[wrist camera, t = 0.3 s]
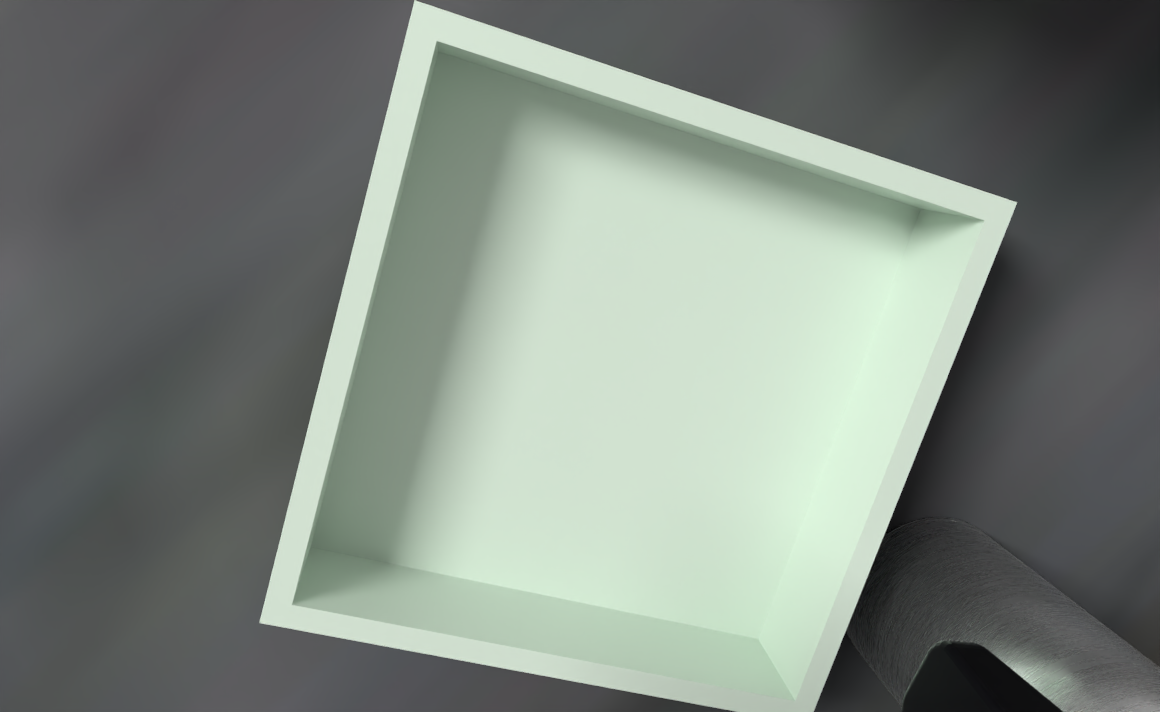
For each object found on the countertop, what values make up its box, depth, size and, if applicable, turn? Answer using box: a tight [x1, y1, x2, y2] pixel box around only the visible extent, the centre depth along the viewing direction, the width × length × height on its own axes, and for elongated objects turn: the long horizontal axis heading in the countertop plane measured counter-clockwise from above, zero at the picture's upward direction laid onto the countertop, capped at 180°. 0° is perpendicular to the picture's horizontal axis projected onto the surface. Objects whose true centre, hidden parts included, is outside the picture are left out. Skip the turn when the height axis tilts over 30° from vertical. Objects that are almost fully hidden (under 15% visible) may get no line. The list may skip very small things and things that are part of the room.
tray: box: [260, 1, 1017, 712], centre depth 22 cm, size 14×14×4 cm
